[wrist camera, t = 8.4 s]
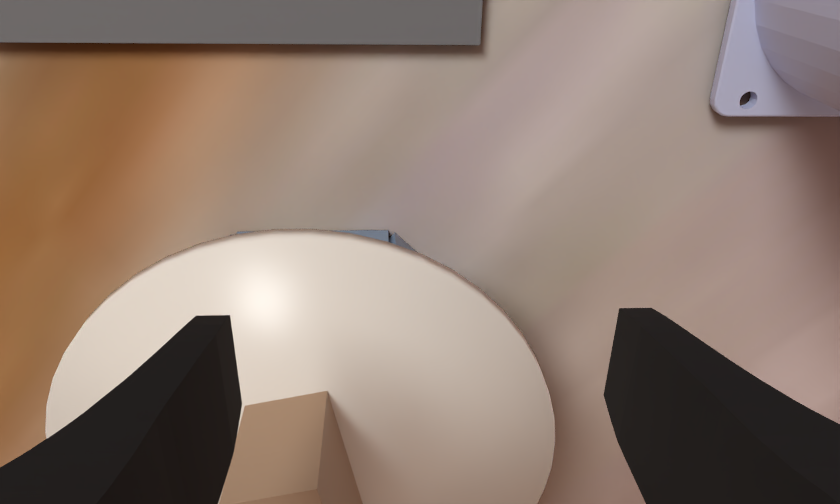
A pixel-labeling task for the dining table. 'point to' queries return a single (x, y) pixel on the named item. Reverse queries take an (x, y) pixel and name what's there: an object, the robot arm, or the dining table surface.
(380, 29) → the mat
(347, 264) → the cover
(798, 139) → the dining table surface
